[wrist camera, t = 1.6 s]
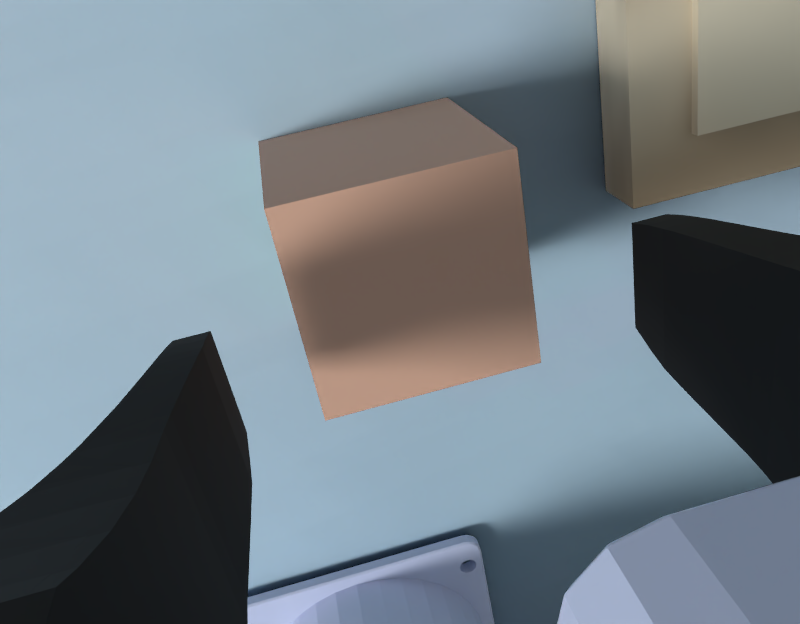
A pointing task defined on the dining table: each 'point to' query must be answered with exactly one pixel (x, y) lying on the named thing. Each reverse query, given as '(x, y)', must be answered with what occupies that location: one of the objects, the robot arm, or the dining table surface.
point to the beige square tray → (697, 94)
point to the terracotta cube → (402, 253)
